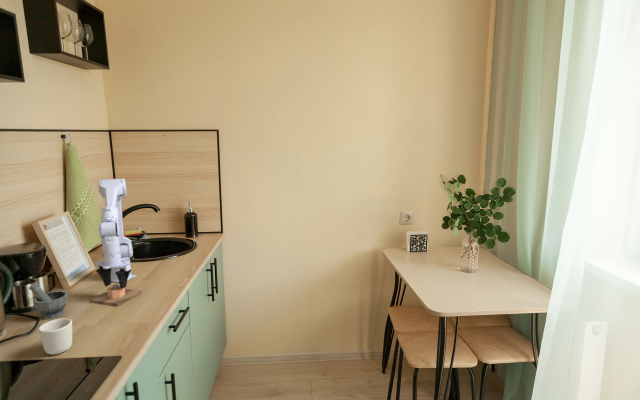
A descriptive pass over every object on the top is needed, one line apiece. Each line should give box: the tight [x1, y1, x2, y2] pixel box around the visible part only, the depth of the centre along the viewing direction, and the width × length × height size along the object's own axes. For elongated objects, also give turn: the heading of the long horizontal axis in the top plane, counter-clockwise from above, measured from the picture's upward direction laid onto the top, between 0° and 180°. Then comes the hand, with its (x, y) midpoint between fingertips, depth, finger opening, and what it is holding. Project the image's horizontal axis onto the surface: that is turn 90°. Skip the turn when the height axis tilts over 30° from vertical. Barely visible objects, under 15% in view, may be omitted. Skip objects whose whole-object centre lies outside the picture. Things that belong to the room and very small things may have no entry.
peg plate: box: [89, 283, 143, 307], centre depth 144 cm, size 13×12×5 cm
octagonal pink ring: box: [106, 284, 126, 298], centre depth 144 cm, size 6×6×3 cm
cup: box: [38, 317, 73, 355], centre depth 110 cm, size 11×8×8 cm
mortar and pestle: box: [28, 282, 69, 320], centre depth 130 cm, size 11×9×12 cm
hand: (115, 286), depth 144 cm, fingers open, 7 cm apart
